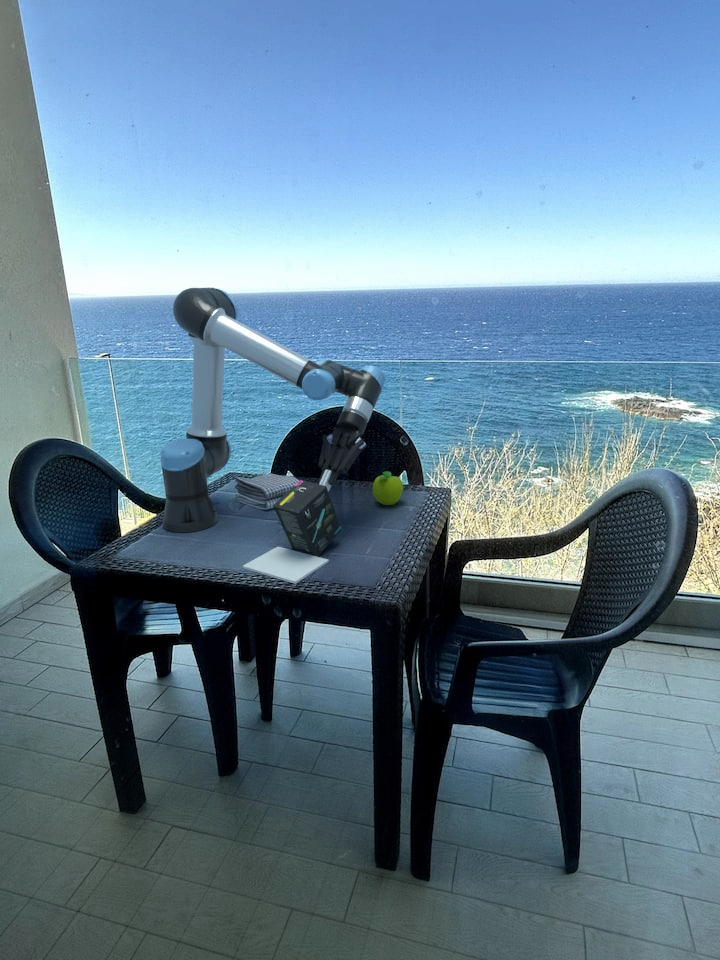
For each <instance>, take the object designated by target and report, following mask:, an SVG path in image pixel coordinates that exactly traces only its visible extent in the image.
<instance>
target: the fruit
mask: <svg viewBox="0 0 720 960" xmlns="http://www.w3.org/2000/svg"><path fill="white" fill-rule="evenodd" d="M403 492H404V483H403V481H402V479H401V478H400V477H399V476H394V475H392V473H391V471H383V472H382V475H379V476H377V477H376V478H375V480H374V481H373V484H372V495H373V498H374V499H375V500H376V501H377V502H379V503H380V504H382V505H383V506H388V505H389V506H392V505H395V504H396V503H397V502H398V501H399V499H400V498H401V496H402V495H403Z"/></svg>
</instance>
